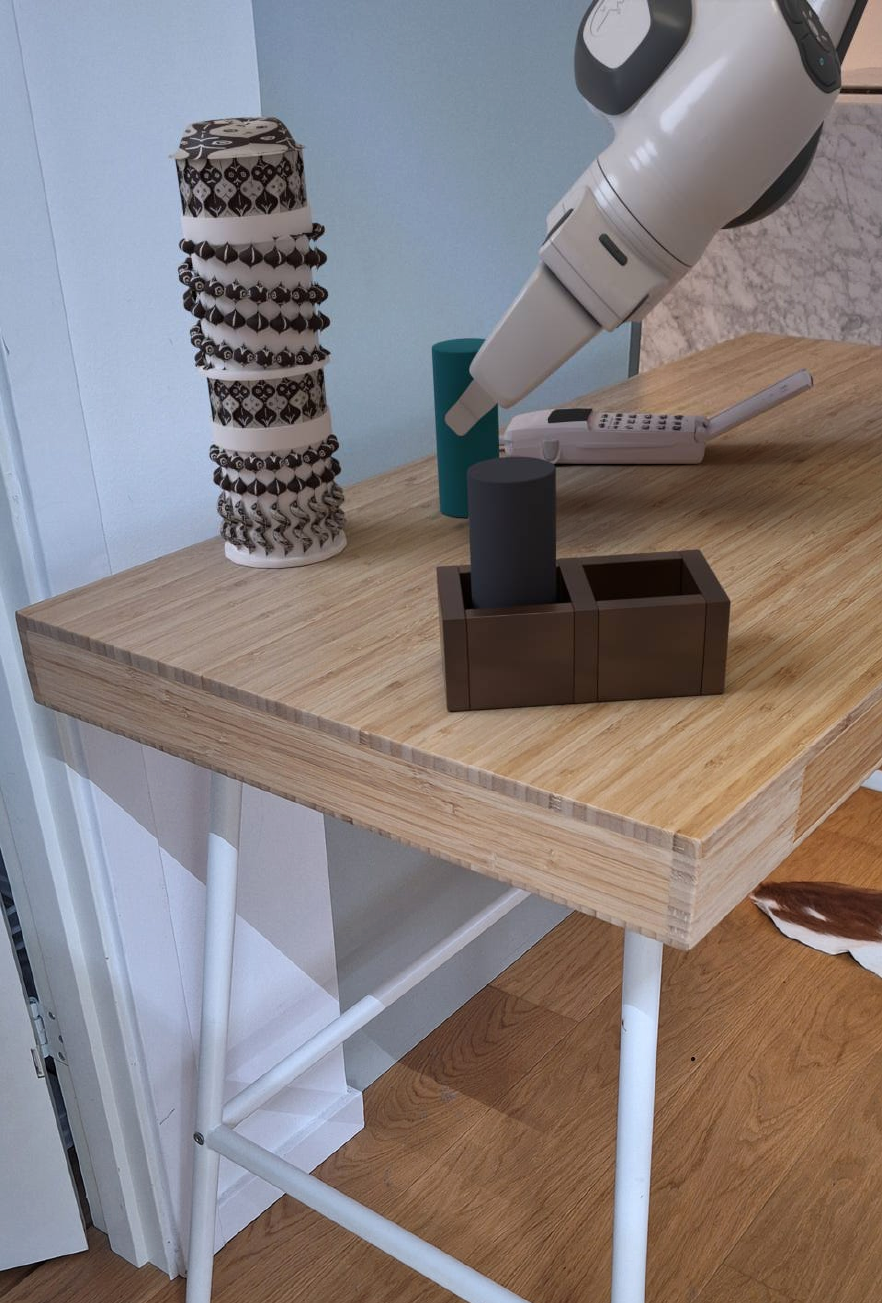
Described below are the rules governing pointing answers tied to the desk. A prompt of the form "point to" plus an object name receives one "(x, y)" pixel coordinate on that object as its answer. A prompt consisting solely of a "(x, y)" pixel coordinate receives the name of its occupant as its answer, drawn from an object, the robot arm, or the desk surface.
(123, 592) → the desk surface
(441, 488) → the teal cylinder
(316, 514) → the white patterned tall cylinder
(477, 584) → the seated dark gray cylinder
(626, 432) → the mobile phone
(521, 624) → the mount block
